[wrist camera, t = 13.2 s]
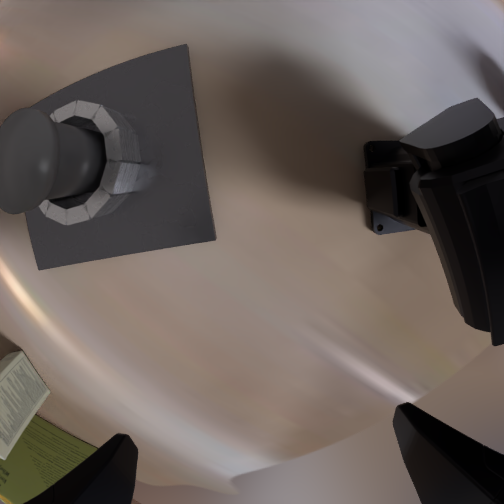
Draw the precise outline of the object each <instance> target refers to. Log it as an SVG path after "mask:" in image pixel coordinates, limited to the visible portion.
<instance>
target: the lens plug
mask: <svg viewBox="0 0 504 504" xmlns="http://www.w3.org/2000/svg"><path fill="white" fill-rule="evenodd" d="M106 163H107V156H106V148H105V138H104V135H103V134H102V133H101V132H97V131H93V130H89V129H85V128H80V127H76V126H72V125H67V124H63V123H58V122H54V121H53V120H52V118H51V117H50V116H49V115H48V114H47V113H45V112H43V111H40V110H35V109H31V108H23V109H19V110H17V111H15V112H14V113H12V114H11V115H10V116H9V117H8V118H7V119H6V120H5V121H4V122H3V124H2V125H1V127H0V208H1V209H2V210H4V211H5V212H7V213H10V214H19V213H23V212H27V211H31V210H33V209H35V208H36V207H38V206H39V205H40V204H41V203H42V202H43V201H44V200H49V199H54V198H60V197H66V196H73V195H79V194H86V193H93V192H95V191H96V190H97V189H98V188H99V187H100V183H101V180H102V176H103V173H104V170H105V166H106Z"/></svg>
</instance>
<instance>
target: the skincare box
mask: <svg viewBox="0 0 504 504" xmlns="http://www.w3.org/2000/svg"><path fill="white" fill-rule="evenodd" d="M49 394H50V390H49V389H48V388H47V386H46V385H45V383H44V382H43V381H42V379H41V378H40V376H39V375H38V374H37V372H36V371H35V369H34V368H33V366H32V365H31V363H30V362H29V360H28V359H27V357H26V356H25V354H24V352H23V351H17V352H12V353H9V354H7V355H6V356H5V357H4V358H3V359H2V360H1V361H0V458H1V459H3V460H6V458H7V456H8V455H9V453H10V451H11V450H12V448H13V447H14V445H15V443H16V442H17V440H18V439H19V437H20V436H21V434H22V432H23V431H24V430H25V428H26V427H27V425H28V424H29V422H30V421H31V419H32V418H33V416H34V415H35V413H36V412H37V410H38V409H39V408H40V406H41V405H42V403H43V402H44V401H45V399H46V398H47V396H48V395H49Z"/></svg>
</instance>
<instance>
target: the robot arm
mask: <svg viewBox="0 0 504 504" xmlns="http://www.w3.org/2000/svg"><path fill="white" fill-rule="evenodd" d="M370 145H371V146H372V147H373V151H372V152H371V151H370V150H369V146H370ZM364 155H365V163H366V170H365V171H364V178H365V187H366V197H367V207H368V208H369V209H370V210H371V225H372V230H373V232H374V233H376V234H378V235H382V234H389V233H395V232H402V231H409V230H415V229H417V230H420V231H423V232H425V233H428V234H431V237H432V239H433V242H434V245H435V247H436V250H437V253H438V255H439V258H440V261H441V264H442V267H443V270H444V272H445V276H446V279H447V282H448V285H449V288H450V292H451V295H452V298H453V302H454V305H455V307H456V308H457V310H458V311H459V313H460V314H461V316H462V317H464V321H465V323H466V324H468V325H470V326H471V327H473V328H475V329H478V330H482V331H486V332H491V340H492V345H493V346H498V345H502V344H504V117H503V118H499V119H496V117H495V115H494V113H493V112H492V111H491V110H490V109H489V108H488V107H487V106H486V105H485V104H484V103H483V102H482V101H480V100H479V99H478V98H474V99H471V100H468V101H465V102H462V103H460V104H457V105H454V106H451V107H449V108H448V109H446V110H444V111H443V112H441V113H440V114H438V115H437V116H435V117H434V118H432V119H431V120H429V121H428V122H426V123H425V124H423V125H422V126H420V127H419V128H417V129H415V130H414V131H412V132H411V133H409V134H408V135H406V136H405V137H403V138H402V139H400V140H399V141H370V142H366V143H365V145H364ZM379 224H380V225H381V228H380V230H377V226H378V225H379ZM393 427H394V430H395V434H396V437H397V440H398V444H399V447H400V450H401V454H402V457H403V460H404V463H405V465H406V468H407V470H408V472H409V475H410V477H411V479H412V482H413V484H414V486H415V489H416V491H417V494H418V496H419V498H420V501H421V503H422V504H504V455H503V454H501V453H499V452H497V451H495V450H493V449H491V448H489V447H487V446H485V445H484V446H483V444H481V443H479V442H477V441H475V440H474V439H472V438H470V437H468V436H466V435H465V434H463V433H461V432H459V431H458V430H456V429H454V428H452V427H450V426H449V425H447V424H445V423H443V422H442V421H440V420H438V419H436V418H435V417H433V416H431V415H429V414H428V413H426V412H425V411H423V410H421V409H419V408H418V407H416V406H415V405H413V404H411V403H409V402H406V403H403V404H400V405H398V406H397V407H396V410H395V414H394V418H393ZM137 460H138V449H137V447H136V445H135V444H134V442H133V441H132V439H131V438H130V436H129V435H127V434H121V433H118V434H116V435H114V436H113V437H112V438H111V439H109V440H108V441H107V442H106V443H105V444H103V445H102V446H101V447H100V448H99V449H97V450H96V451H95V452H94V453H92V454H91V455H90V456H89V457H87V458H86V459H85V460H84V461H82V462H81V463H80V464H79V465H77V466H76V467H75V468H74V469H72V470H71V471H70V472H69V473H67V474H66V475H65V476H63V477H62V478H61V479H59V480H58V481H57V482H55V483H54V484H53V485H51V486H50V487H49V488H47V489H46V490H44V491H43V492H42V493H40V494H39V495H37V496H35V497H34V498H32V499H30V500H28V501H27V502H25V503H23V504H131V502H132V498H133V493H134V488H135V480H136V469H137Z"/></svg>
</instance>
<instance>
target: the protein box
mask: <svg viewBox="0 0 504 504" xmlns="http://www.w3.org/2000/svg"><path fill="white" fill-rule="evenodd" d="M97 449H98V448H95V447H93V446H91V445H89V444H87V443H85V442H83V441H81V440H79V439H77V438H75V437H73V436H71V435H69V434H68V433H66V432H64V431H62V430H60V429H59V428H57V427H55V426H53V425H52V424H50V423H48V422H47V421H45V420H43V419H42V418H40V417H39V416H37V415H34V416H33V418H32V419H31V421H30V422H29V424H28V425H27V427H26V428H25V430H24V431H23V432H22V434H21V436H20V437H19V439H18V440H17V442H16V443H15V445H14V447H13V448H12V450H11V451H10V453H9V455H8V456H7V458H6V460H3V459H1V458H0V500H1V501H3V502H4V503H6V504H23V503H25V502H27V501H28V500H30V499H32V498H34V497H35V496H37V495H39V494H40V493H42V492H43V491H44V490H46V489H47V488H49V487H50V486H51V485H53V484H54V483H55V482H57V481H58V480H59V479H61V478H62V477H63V476H65V475H66V474H67V473H69V472H70V471H71V470H72V469H74V468H75V467H76V466H77V465H79V464H80V463H81V462H82V461H84V460H85V459H86V458H87V457H89V456H90V455H91V454H92V453H94V452H95V451H96V450H97Z"/></svg>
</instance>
